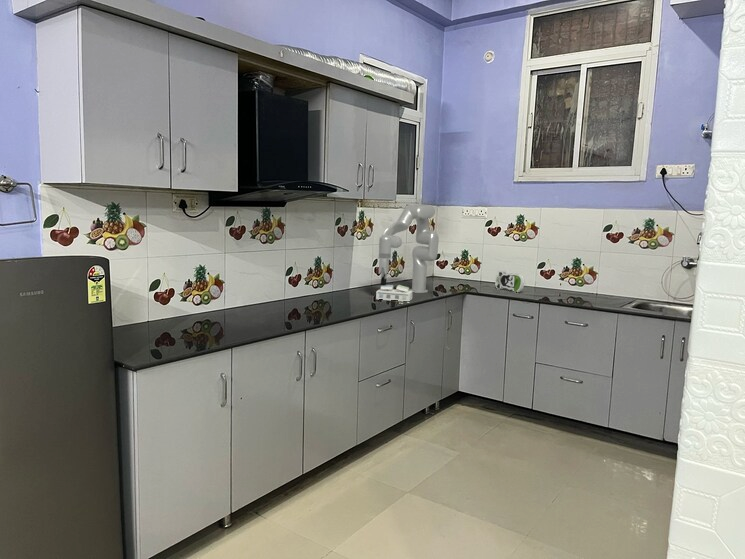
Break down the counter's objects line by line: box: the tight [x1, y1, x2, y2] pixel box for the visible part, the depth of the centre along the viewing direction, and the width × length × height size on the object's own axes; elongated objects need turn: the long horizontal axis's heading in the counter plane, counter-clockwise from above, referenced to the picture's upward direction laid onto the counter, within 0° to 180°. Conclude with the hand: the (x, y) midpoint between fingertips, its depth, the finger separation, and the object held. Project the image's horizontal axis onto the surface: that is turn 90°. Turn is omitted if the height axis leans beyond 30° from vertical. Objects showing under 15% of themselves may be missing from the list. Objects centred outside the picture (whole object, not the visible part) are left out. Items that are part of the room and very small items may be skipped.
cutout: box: [494, 270, 525, 293], centre depth 404 cm, size 15×3×25 cm
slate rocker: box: [380, 284, 394, 289], centre depth 351 cm, size 6×7×2 cm
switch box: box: [375, 287, 414, 302], centre depth 350 cm, size 13×21×6 cm, turn 78°
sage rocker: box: [395, 284, 410, 292], centre depth 349 cm, size 6×7×2 cm
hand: (383, 284), depth 351 cm, fingers closed
